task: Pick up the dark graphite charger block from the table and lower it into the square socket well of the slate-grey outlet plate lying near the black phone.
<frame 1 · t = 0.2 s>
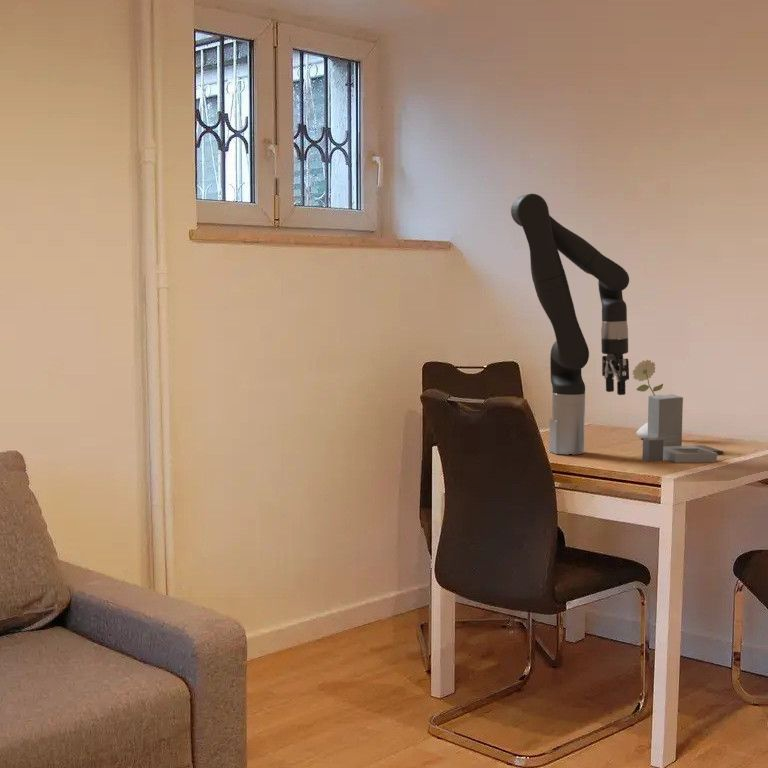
hand: (615, 393, 321), 17 cm above the table, tool pointing down, fingers open, 8 cm apart
outlet plate: (684, 458, 312), on the table
flower in vase: (652, 439, 350), on the table
phone: (703, 451, 325), on the table
charger block: (652, 460, 308), on the table
skincare box: (664, 449, 330), on the table
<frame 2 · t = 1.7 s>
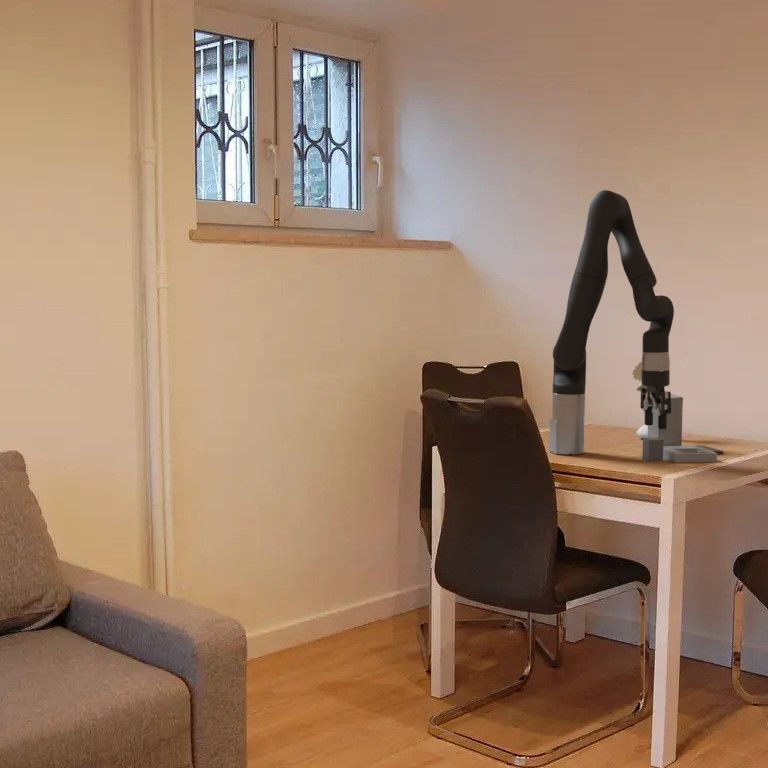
hand: (655, 427, 308), 9 cm above the table, tool pointing down, fingers open, 8 cm apart
nothing on the table moved.
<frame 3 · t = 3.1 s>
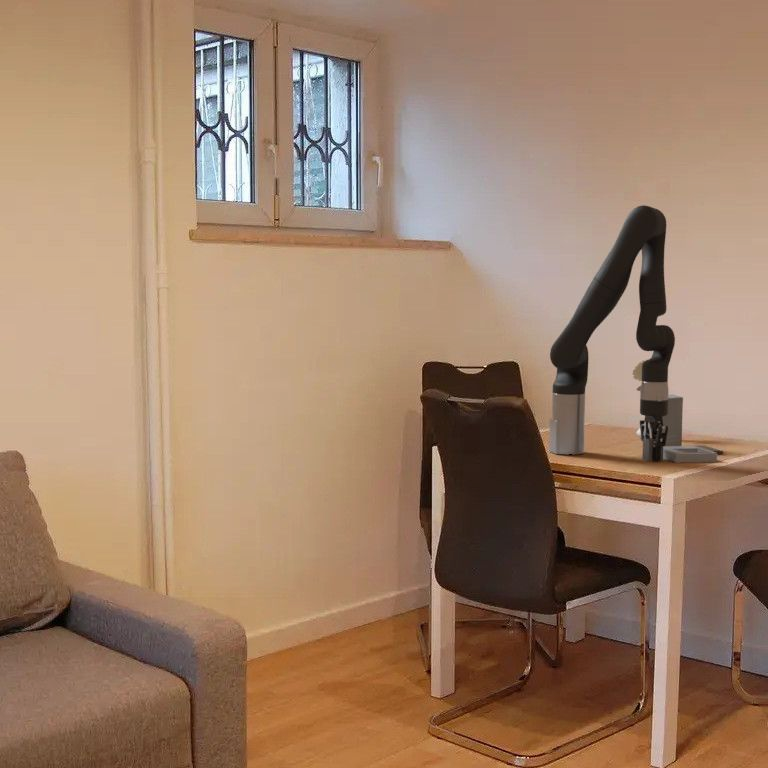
hand: (652, 459, 308), 0 cm above the table, tool pointing down, fingers closed on charger block, 4 cm apart
charger block: (652, 460, 308), on the table, touching gripper
everything else where it was.
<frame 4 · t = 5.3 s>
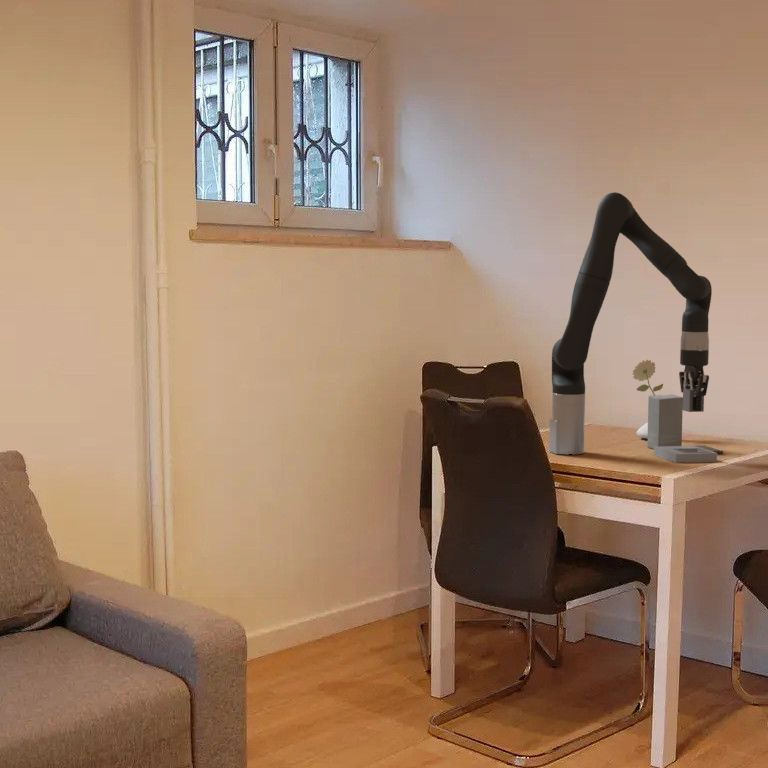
hand: (692, 409, 309), 14 cm above the table, tool pointing down, fingers closed on charger block, 4 cm apart
charger block: (693, 410, 309), point 14 cm above the table, touching gripper
everything else where it was.
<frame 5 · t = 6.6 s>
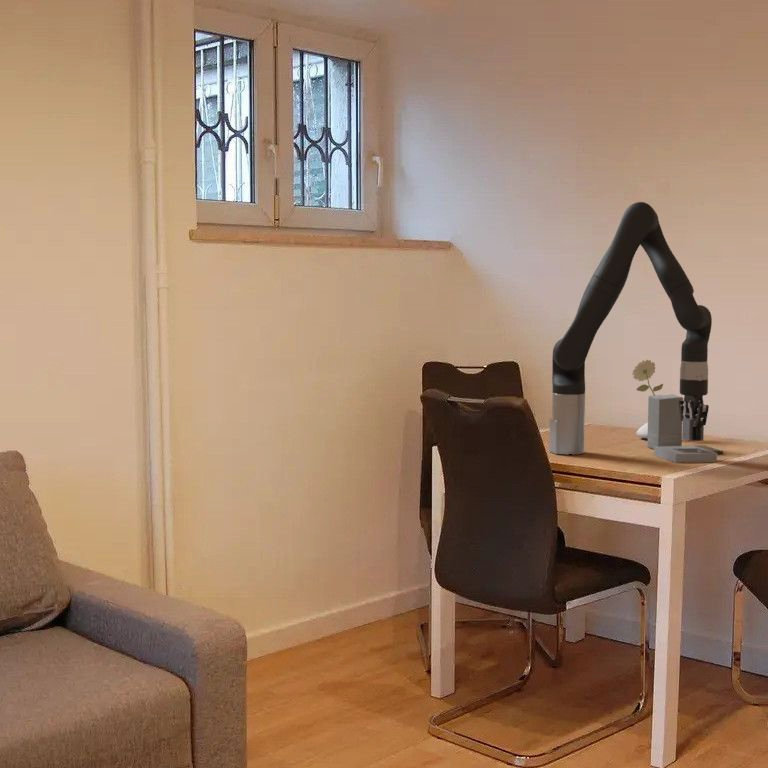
hand: (692, 438, 310), 6 cm above the table, tool pointing down, fingers closed on charger block, 4 cm apart
charger block: (692, 439, 310), point 5 cm above the table, touching gripper
everything else where it was.
when the fingers open (3 cm above the table, at t = 7.5 s): charger block drops 3 cm, resting in outlet plate.
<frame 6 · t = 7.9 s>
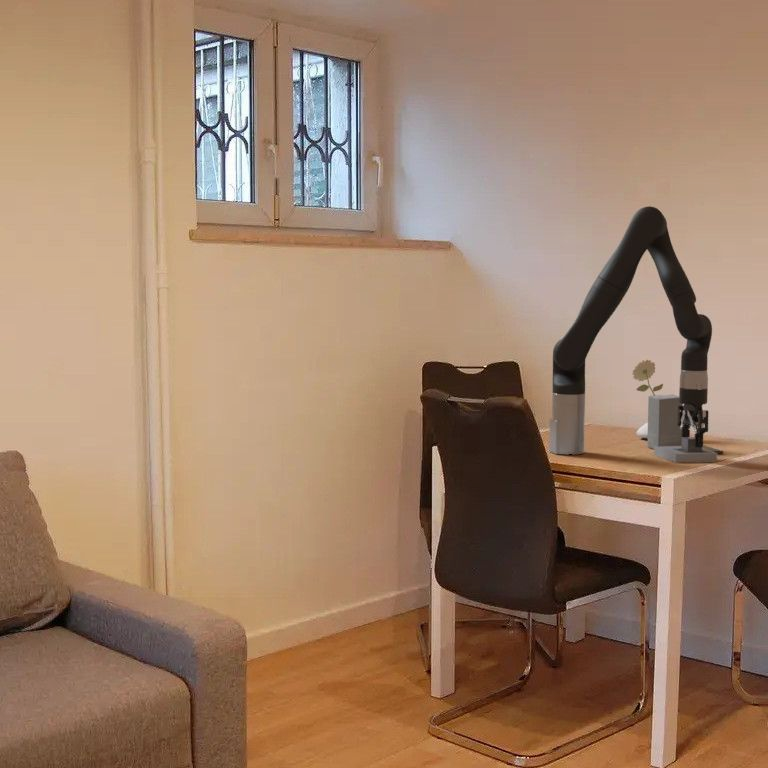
hand: (691, 445, 310), 4 cm above the table, tool pointing down, fingers open, 8 cm apart
charger block: (691, 459, 310), resting in outlet plate
everything else where it was.
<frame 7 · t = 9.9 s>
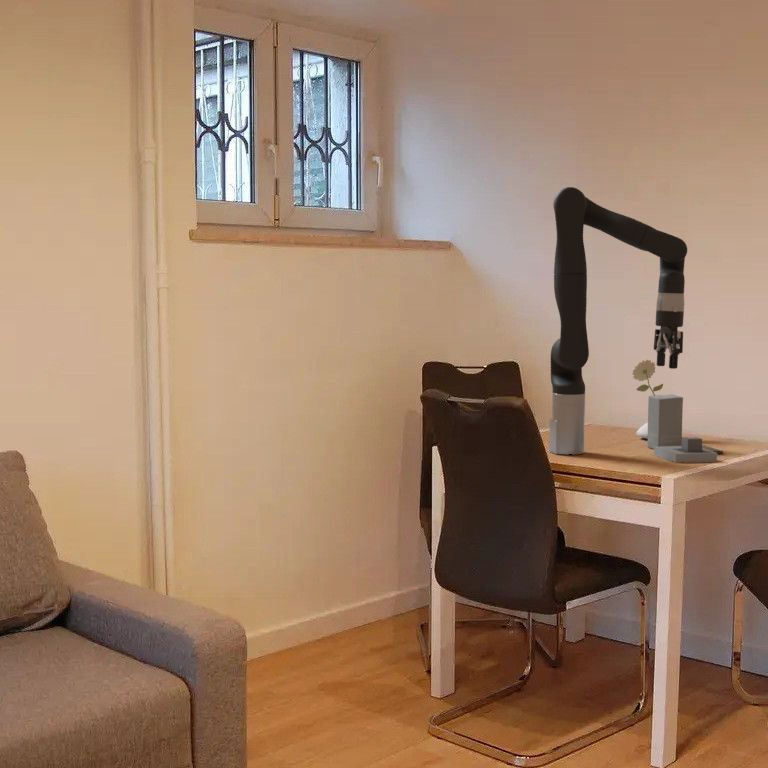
hand: (666, 367, 314), 25 cm above the table, tool pointing down, fingers open, 8 cm apart
nothing on the table moved.
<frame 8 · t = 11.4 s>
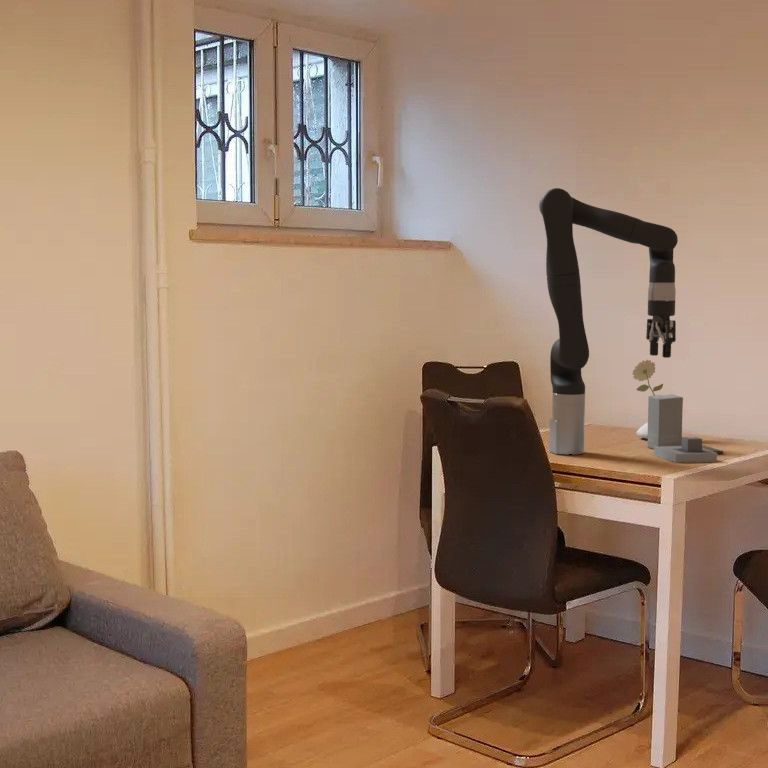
hand: (660, 356, 315), 28 cm above the table, tool pointing down, fingers open, 8 cm apart
nothing on the table moved.
at the end: charger block 0.2 cm from the target spot on the outlet plate, point 0.0 cm above the outlet plate's base; charger block tilted 0°; the gripper is holding nothing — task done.
